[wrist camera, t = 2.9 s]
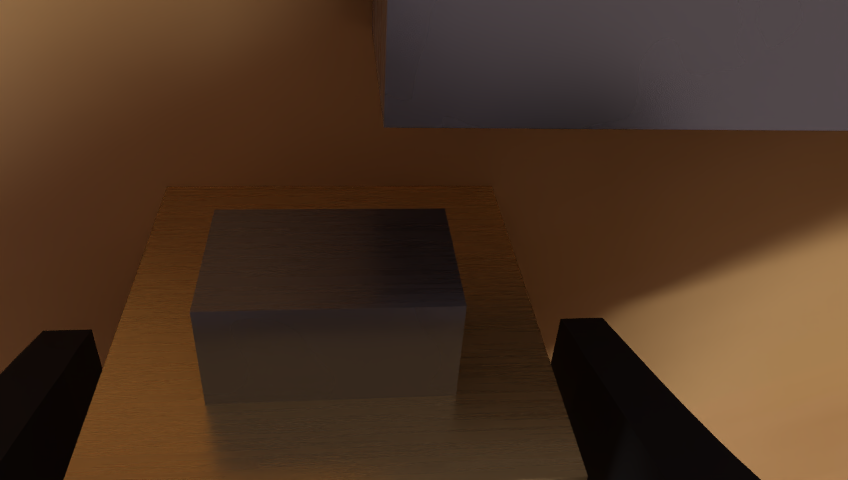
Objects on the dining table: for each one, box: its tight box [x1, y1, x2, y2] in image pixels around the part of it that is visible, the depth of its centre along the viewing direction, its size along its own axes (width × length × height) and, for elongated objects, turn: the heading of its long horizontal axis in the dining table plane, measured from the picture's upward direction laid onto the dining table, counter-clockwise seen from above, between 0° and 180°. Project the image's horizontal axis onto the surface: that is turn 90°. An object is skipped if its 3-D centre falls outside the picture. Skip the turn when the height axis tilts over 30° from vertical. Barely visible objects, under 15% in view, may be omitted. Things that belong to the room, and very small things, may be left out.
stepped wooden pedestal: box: [64, 186, 588, 480], centre depth 9 cm, size 6×4×5 cm
